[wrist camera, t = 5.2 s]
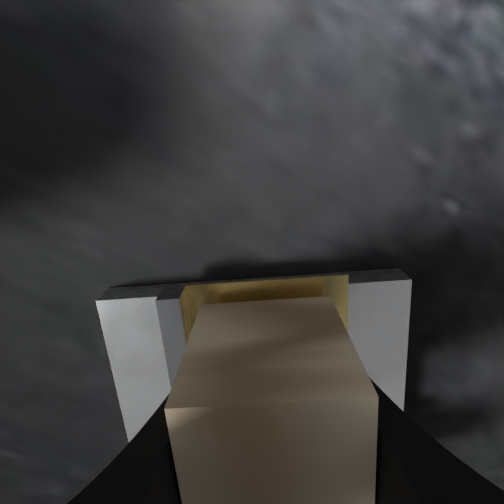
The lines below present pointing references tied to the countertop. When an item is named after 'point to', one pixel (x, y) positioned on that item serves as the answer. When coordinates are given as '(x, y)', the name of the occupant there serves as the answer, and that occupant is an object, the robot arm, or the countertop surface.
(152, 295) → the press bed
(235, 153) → the countertop surface
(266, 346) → the beech block
